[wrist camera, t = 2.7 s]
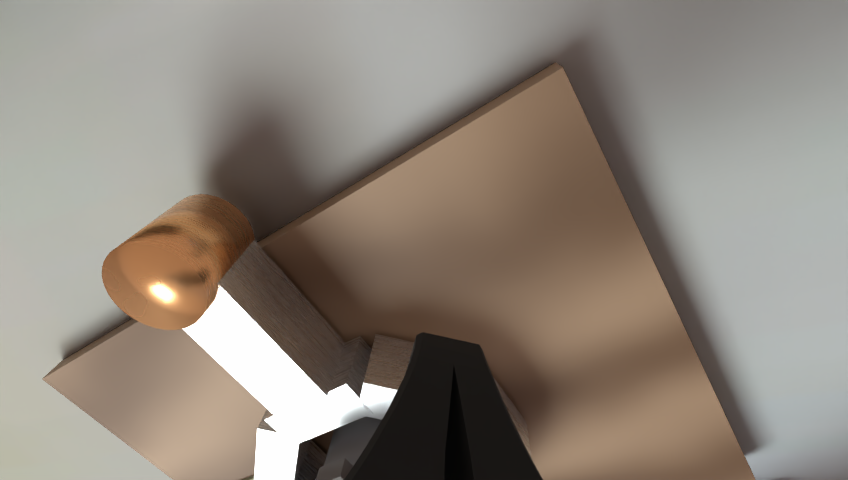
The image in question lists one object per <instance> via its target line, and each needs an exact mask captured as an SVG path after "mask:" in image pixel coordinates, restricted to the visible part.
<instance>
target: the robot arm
mask: <svg viewBox="0 0 848 480" xmlns="http://www.w3.org/2000/svg"><path fill="white" fill-rule="evenodd" d="M344 480H543V479H542V477H541V475H540V473H539V471H538V470H537V468H536V466H535V464H534V462H533V461H532V459H531V457H530V455H529V453H528V451H527V449H526V447H525V445H524V443H523V441H522V439H521V437H520V435H519V433H518V431H517V429H516V427H515V425H514V422H513V420H512V418H511V416H510V414H509V412H508V410H507V408H506V405H505V403H504V401H503V399H502V396H501V394H500V392H499V389H498V387H497V385H496V383H495V380H494V378H493V375H492V373H491V370H490V368H489V365H488V363H487V360H486V358H485V355H484V352H483V350H482V348H481V346H480V345H479V344H475V343H470V342H466V341H461V340H457V339H452V338H448V337H443V336H439V335H434V334H429V333H425V332H422V333H420V334H417V335H416V338H415V341H414V345H413V349H412V352H411V356H410V359H409V363H408V366H407V370H406V373H405V376H404V378H403V380H402V382H401V384H400V386H399V388H398V390H397V392H396V394H395V396H394V398H393V400H392V402H391V404H390V406H389V408H388V410H387V412H386V414H385V415H384V417H383V419H382V420H381V422H380V424H379V426H378V427H377V429H376V431H375V432H374V434H373V436H372V437H371V439H370V441H369V442H368V444H367V446H366V447H365V449H364V450H363V452H362V454H361V455H360V457H359V458H358V460H357V461H356V463H355V464H354V466H353V467H352V469H351V470H350V472H349V473H348V475H347V476H346V477H345V479H344Z"/></svg>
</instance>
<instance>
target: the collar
mask: <svg viewBox="0 0 848 480" xmlns="http://www.w3.org/2000/svg"><path fill="white" fill-rule="evenodd" d="M102 279H103V283H104V286H105V288H106V290H107V292H108V294H109V296H110V297H111V299H112V300H113V301H114V303H115V304H116V305H117V306H118V307H119V308H120V309H121V310H122V311H124V312H125V313H126V314H127V315H129V316H130V317H132V318H133V319H135V320H137V321H138V322H140V323H143V324H145V325H147V326H150V327H154V328H157V329H163V330H179V329H183V330H184V331H186V332H187V333H188V334H189V335H190V336H191V337H192V338H193V339H194V340H195V341H196V342H197V343H198V344H199V345H200V346H201V347H202V348H204V349H205V350H206V351H207V352H208V353H209V354H210V355H211V356H212V357H213V358H214V359H215V360H216V361H217V362H218V363H219V364H220V365H222V366H223V367H224V368H225V369H226V370H227V371H228V372H229V373H230V374H231V375H232V376H233V377H234V378H235V379H236V380H237V381H238V382H240V383H241V384H242V385H243V386H244V387H245V388H246V389H247V390H248V391H249V392H250V393H251V394H252V395H253V396H254V397H255V398H256V399H258V400H259V401H260V402H261V403H262V404H263V405H264V406H265V407H266V408H267V409H266V412H265V414H264V416H263V418H262V420H261V422H260V424H259V426H258V429H257V444H256V459H255V475H254V480H316V477H317V474H318V471H319V468H320V467H322V466H324V463H325V460H326V456H327V454H326V453H324V452H323V451H322V450H321V449H320V448H319V447H318V446H317V445H316V444H315V443H314V442H313V441H312V440H311V438H313V437H316V436H318V435H321V434H323V433H326V432H328V431H331V430H333V429H336V428H338V427H341V426H343V425H346V424H348V423H351V422H353V421H355V420H358V419H360V418H363V417H365V416H366V417H371V418H376V419H381V420H382V419H383V417H384V415H385V414H386V412H387V410H388V408H389V406H390V404H391V402H392V400H393V398H394V396H395V394H396V392H397V390H398V388H399V386H400V384H401V382H402V380H403V378H404V376H405V373H406V370H407V366H408V363H409V359H410V356H411V352H412V349H413V345H414V342H409V341H404V340H400V339H395V338H391V337H386V336H382V335H377V334H376V335H375V339H374V343H373V347H372V348H371V347H370V346H369V345H368V344H367V342H366V341H365V340H364V339H363V338H362V337H361V336H359V337H356V338H354V339H352V340H350V341H348V342H346V343H345V342H344V341H343V340H342V338H341V337H340V336H339V335H338V334H337V333H336V332H335V331H334V329H333V328H332V327H331V326H330V325H329V324H328V323H327V321H326V320H325V319H324V318H323V317H322V316H321V315H320V314H319V312H318V311H317V310H316V309H315V308H314V307H313V306H312V304H311V303H310V302H309V301H308V300H307V299H306V298H305V297H304V295H303V294H302V293H301V292H300V291H299V290H298V289H297V287H296V286H295V285H294V284H293V283H292V282H291V281H290V280H289V278H288V277H287V276H286V275H285V274H284V273H283V272H282V270H281V269H280V268H279V267H278V266H277V265H276V264H275V263H274V261H273V260H272V259H271V258H270V257H269V256H268V255H267V253H266V252H265V251H264V250H263V249H262V248H261V247H260V245H259V244H258V243H257V242H256V241H255V240H254V234H253V230H252V228H251V225H250V223H249V222H248V220H247V219H246V217H245V216H244V215H243V214H242V213H241V211H240V210H239V209H237V208H236V207H235V206H234V205H232V204H231V203H229V202H227V201H225V200H224V199H221V198H219V197H216V196H212V195H204V194H199V195H192V196H189V197H186V198H184V199H183V200H181V201H180V202H178V203H177V204H176V205H174V206H173V207H171V208H170V209H169V210H167V211H166V212H165V213H163V214H162V215H161V216H159V217H158V218H156V219H155V220H154V221H152V222H151V223H150V224H148V225H147V226H145V227H144V228H143V229H141V230H140V231H139V232H137V233H136V234H134V235H133V236H132V237H130V238H129V239H128V240H126V241H125V242H124V243H122V244H121V245H119V246H118V247H117V248H115V249H114V250H113V251H111V252H110V253H109V254H108V256H107V257H106V259H105V261H104V263H103V266H102ZM493 378H494V377H493ZM494 380H495V379H494ZM495 383H496V385H497V387H498V389H499V392H500V394H501V396H502V399H503V401H504V403H505V405H506V408H507V410H508V412H509V414H510V416H511V418H512V420H513V422H514V425H515V427H516V429H517V431H518V433H519V435H520V437H521V439H522V441H523V443H524V445H525V447H526V449H527V451H528V453H529V455H530V457H531V450H530V444H529V437H528V431H527V424H526V421H525V419H524V418H523V417H522V415H521V414H520V413H519V411H518V410H517V409H516V407H515V406H514V404H513V403H512V402H511V400H510V399H509V398H508V396H507V395H506V394H505V392H504V391H503V389H502V388H501V387H500V385H499V384H498V383H497V381H496V380H495ZM531 459H532V457H531Z"/></svg>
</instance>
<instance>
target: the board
mask: <svg viewBox="0 0 848 480" xmlns="http://www.w3.org/2000/svg"><path fill="white" fill-rule="evenodd" d="M258 244H259V245H260V247H261V248H262V249H263V250H264V251H265V252H266V253H267V255H268V256H269V257H270V258H271V259H272V260H273V261H274V263H275V264H276V265H277V266H278V267H279V268H280V269H281V270H282V272H283V273H284V274H285V275H286V276H287V277H288V278H289V280H290V281H291V282H292V283H293V284H294V285H295V286H296V287H297V289H298V290H299V291H300V292H301V293H302V294H303V295H304V297H305V298H306V299H307V300H308V301H309V302H310V303H311V304H312V306H313V307H314V308H315V309H316V310H317V311H318V312H319V314H320V315H321V316H322V317H323V318H324V319H325V320H326V321H327V323H328V324H329V325H330V326H331V327H332V328H333V329H334V331H335V332H336V333H337V334H338V335H339V336H340V337H341V338H342V340H343V341H344V342H345V343H346V342H348V341H350V340H352V339H354V338H356V337H359V336H361V337H362V338H363V339H364V340H365V341H366V342H367V344H368V345H369V346H370V347H371V348H372V347H373V343H374V339H375V335H376V334H377V335H382V336H386V337H391V338H395V339H400V340H404V341H409V342H414V341H415V338H416V335H417V334H420V333H422V332H425V333H429V334H434V335H439V336H443V337H448V338H452V339H457V340H461V341H466V342H470V343H475V344H479V345H480V346H481V348H482V350H483V352H484V355H485V358H486V360H487V363H488V365H489V368H490V370H491V373H492V375H493V377H494V379H495V380H496V381H497V383H498V384H499V385H500V387H501V388H502V389H503V391H504V392H505V394H506V395H507V396H508V398H509V399H510V400H511V402H512V403H513V404H514V406H515V407H516V409H517V410H518V411H519V413H520V414H521V415H522V417H523V418H524V419H525V421H526V424H527V431H528V437H529V444H530V450H531V457H532V461H533V462H534V464H535V466H536V468H537V470H538V471H539V473H540V475H541V477H542V479H543V480H755V478H754V475H753V473H752V471H751V469H750V467H749V465H748V463H747V460H746V458H745V456H744V454H743V452H742V450H741V448H740V445H739V443H738V441H737V439H736V437H735V435H734V433H733V430H732V428H731V426H730V424H729V422H728V420H727V418H726V415H725V413H724V411H723V409H722V407H721V405H720V403H719V401H718V398H717V396H716V394H715V392H714V390H713V388H712V386H711V383H710V381H709V379H708V377H707V375H706V373H705V371H704V368H703V366H702V364H701V362H700V360H699V358H698V356H697V353H696V351H695V349H694V347H693V345H692V343H691V341H690V338H689V336H688V334H687V332H686V330H685V328H684V326H683V323H682V321H681V319H680V317H679V315H678V313H677V311H676V308H675V306H674V304H673V302H672V300H671V298H670V296H669V293H668V291H667V289H666V287H665V285H664V283H663V281H662V278H661V276H660V274H659V272H658V270H657V268H656V266H655V263H654V261H653V259H652V257H651V255H650V253H649V251H648V248H647V246H646V244H645V242H644V240H643V238H642V236H641V234H640V231H639V229H638V227H637V225H636V223H635V221H634V219H633V216H632V214H631V212H630V210H629V208H628V206H627V204H626V201H625V199H624V197H623V195H622V193H621V191H620V189H619V186H618V184H617V182H616V180H615V178H614V176H613V174H612V171H611V169H610V167H609V165H608V163H607V161H606V159H605V156H604V154H603V152H602V150H601V148H600V146H599V144H598V141H597V139H596V137H595V135H594V133H593V131H592V129H591V126H590V124H589V122H588V120H587V118H586V116H585V114H584V111H583V109H582V107H581V105H580V103H579V101H578V99H577V96H576V94H575V92H574V90H573V88H572V86H571V84H570V81H569V79H568V77H567V75H566V73H565V71H564V69H563V67H562V66H560V65H559V64H557V63H556V62H555V63H553V64H552V65H550V66H549V67H547V68H545V69H544V70H542V71H540V72H539V73H537V74H535V75H534V76H532V77H530V78H529V79H527V80H525V81H524V82H522V83H520V84H519V85H517V86H515V87H514V88H512V89H511V90H509V91H507V92H506V93H504V94H502V95H501V96H499V97H497V98H496V99H494V100H492V101H491V102H489V103H487V104H486V105H484V106H482V107H481V108H479V109H477V110H476V111H474V112H472V113H471V114H469V115H468V116H466V117H464V118H463V119H461V120H459V121H458V122H456V123H454V124H453V125H451V126H449V127H448V128H446V129H444V130H443V131H441V132H439V133H438V134H436V135H434V136H433V137H431V138H430V139H428V140H426V141H425V142H423V143H421V144H420V145H418V146H416V147H415V148H413V149H411V150H410V151H408V152H406V153H405V154H403V155H401V156H400V157H398V158H396V159H395V160H393V161H392V162H390V163H388V164H387V165H385V166H383V167H382V168H380V169H378V170H377V171H375V172H373V173H372V174H370V175H368V176H367V177H365V178H363V179H362V180H360V181H358V182H357V183H355V184H353V185H352V186H350V187H349V188H347V189H345V190H344V191H342V192H340V193H339V194H337V195H335V196H334V197H332V198H330V199H329V200H327V201H325V202H324V203H322V204H320V205H319V206H317V207H315V208H314V209H312V210H311V211H309V212H307V213H306V214H304V215H302V216H301V217H299V218H297V219H296V220H294V221H292V222H291V223H289V224H287V225H286V226H284V227H282V228H281V229H279V230H277V231H276V232H274V233H273V234H271V235H269V236H268V237H266V238H264V239H263V240H261V241H259V242H258ZM43 380H44V381H45V382H47V383H48V384H49V385H51V386H52V387H53V388H54V389H56V390H57V391H58V392H60V393H61V394H62V395H64V396H65V397H66V398H67V399H69V400H70V401H71V402H73V403H74V404H75V405H77V406H78V407H79V408H80V409H82V410H83V411H84V412H86V413H87V414H88V415H90V416H91V417H92V418H94V419H95V420H96V421H97V422H99V423H100V424H101V425H103V426H104V427H105V428H107V429H108V430H109V431H110V432H112V433H113V434H114V435H116V436H117V437H118V438H120V439H121V440H122V441H123V442H125V443H126V444H127V445H129V446H130V447H131V448H133V449H134V450H135V451H136V452H138V453H139V454H140V455H142V456H143V457H144V458H146V459H147V460H148V461H149V462H151V463H152V464H153V465H155V466H156V467H157V468H159V469H160V470H161V471H163V472H164V473H165V474H166V475H168V476H169V477H170V478H172V479H173V480H254V475H255V459H256V444H257V429H258V426H259V424H260V422H261V420H262V418H263V416H264V414H265V412H266V409H267V408H266V407H265V406H264V405H263V404H262V403H261V402H260V401H259V400H258V399H256V398H255V397H254V396H253V395H252V394H251V393H250V392H249V391H248V390H247V389H246V388H245V387H244V386H243V385H242V384H241V383H240V382H238V381H237V380H236V379H235V378H234V377H233V376H232V375H231V374H230V373H229V372H228V371H227V370H226V369H225V368H224V367H223V366H222V365H220V364H219V363H218V362H217V361H216V360H215V359H214V358H213V357H212V356H211V355H210V354H209V353H208V352H207V351H206V350H205V349H204V348H202V347H201V346H200V345H199V344H198V343H197V342H196V341H195V340H194V339H193V338H192V337H191V336H190V335H189V334H188V333H187V332H186V331H184V330H183V329H179V330H163V329H157V328H154V327H150V326H147V325H145V324H143V323H140V322H138V321H137V320H135V319H133V318H132V319H130V320H129V321H127V322H125V323H124V324H122V325H120V326H119V327H117V328H115V329H114V330H112V331H111V332H109V333H107V334H106V335H104V336H102V337H101V338H99V339H97V340H96V341H94V342H92V343H91V344H89V345H87V346H86V347H84V348H82V349H81V350H79V351H77V352H76V353H74V354H73V355H71V356H69V357H68V358H66V359H64V360H63V361H61V362H60V363H59V364H58V365H57V366H56V367H55V368H54V369H52V370H51V371H50V372H49V373H48V374H47V375H46V376H45V377H44V378H43ZM380 422H381V419H376V418H371V417H366V416H365V417H363V418H360V419H358V420H355V421H353V422H351V423H348V424H346V425H343V426H341V427H338V428H336V429H333V430H331V431H328V432H326V433H323V434H321V435H318V436H316V437H313V438H311V440H312V441H313V442H314V443H315V444H316V445H317V446H318V447H319V448H320V449H321V450H322V451H323V452H324V453H326V454H327V456H326V460H325V463H324V466H322V467H320V468H319V471H318V474H317V477H316V480H344V479H345V477H346V476H347V475H348V473H349V472H350V470H351V469H352V467H353V466H354V464H355V463H356V461H357V460H358V458H359V457H360V455H361V454H362V452H363V450H364V449H365V447H366V446H367V444H368V442H369V441H370V439H371V437H372V436H373V434H374V432H375V431H376V429H377V427H378V426H379V424H380Z"/></svg>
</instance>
